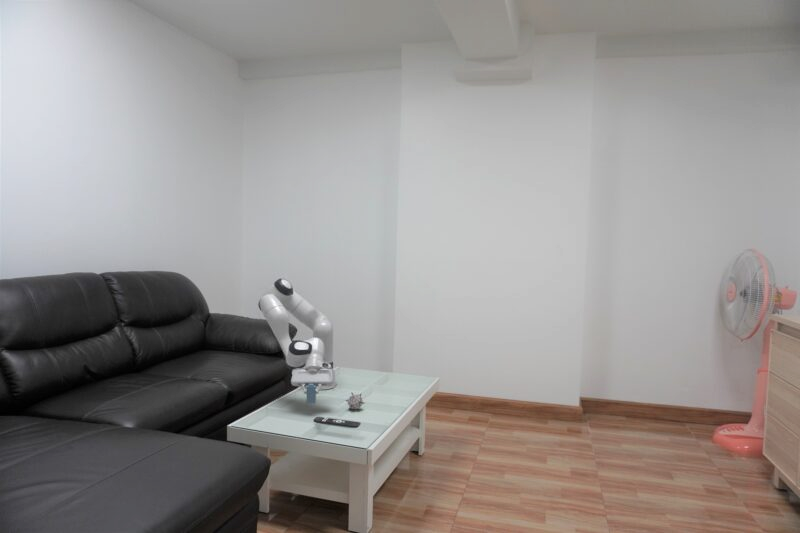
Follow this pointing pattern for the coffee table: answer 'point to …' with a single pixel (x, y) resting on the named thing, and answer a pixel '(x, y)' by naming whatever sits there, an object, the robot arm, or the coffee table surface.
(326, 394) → the coffee table surface
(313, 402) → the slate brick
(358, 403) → the twenty-sided die
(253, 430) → the coffee table surface
